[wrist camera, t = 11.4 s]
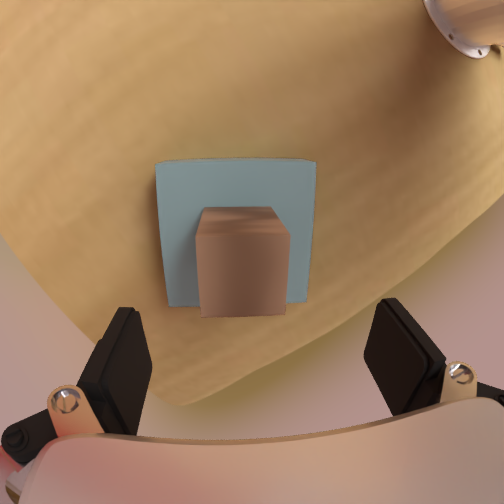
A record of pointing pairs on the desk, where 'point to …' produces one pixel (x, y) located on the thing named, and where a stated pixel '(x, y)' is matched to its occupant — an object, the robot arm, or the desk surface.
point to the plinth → (232, 195)
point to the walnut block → (242, 262)
